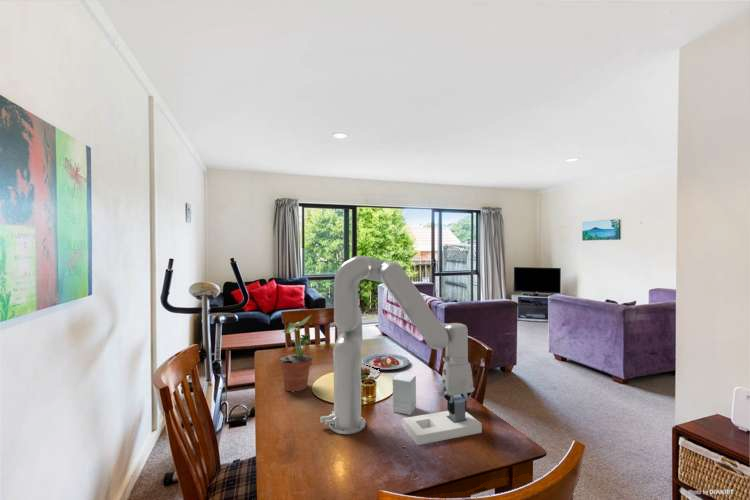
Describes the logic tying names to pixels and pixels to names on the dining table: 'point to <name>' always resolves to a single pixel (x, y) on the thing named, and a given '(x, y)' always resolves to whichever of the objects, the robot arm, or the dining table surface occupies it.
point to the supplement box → (404, 393)
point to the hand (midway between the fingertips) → (456, 411)
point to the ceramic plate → (386, 361)
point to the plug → (458, 409)
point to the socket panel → (439, 427)
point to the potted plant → (296, 362)
